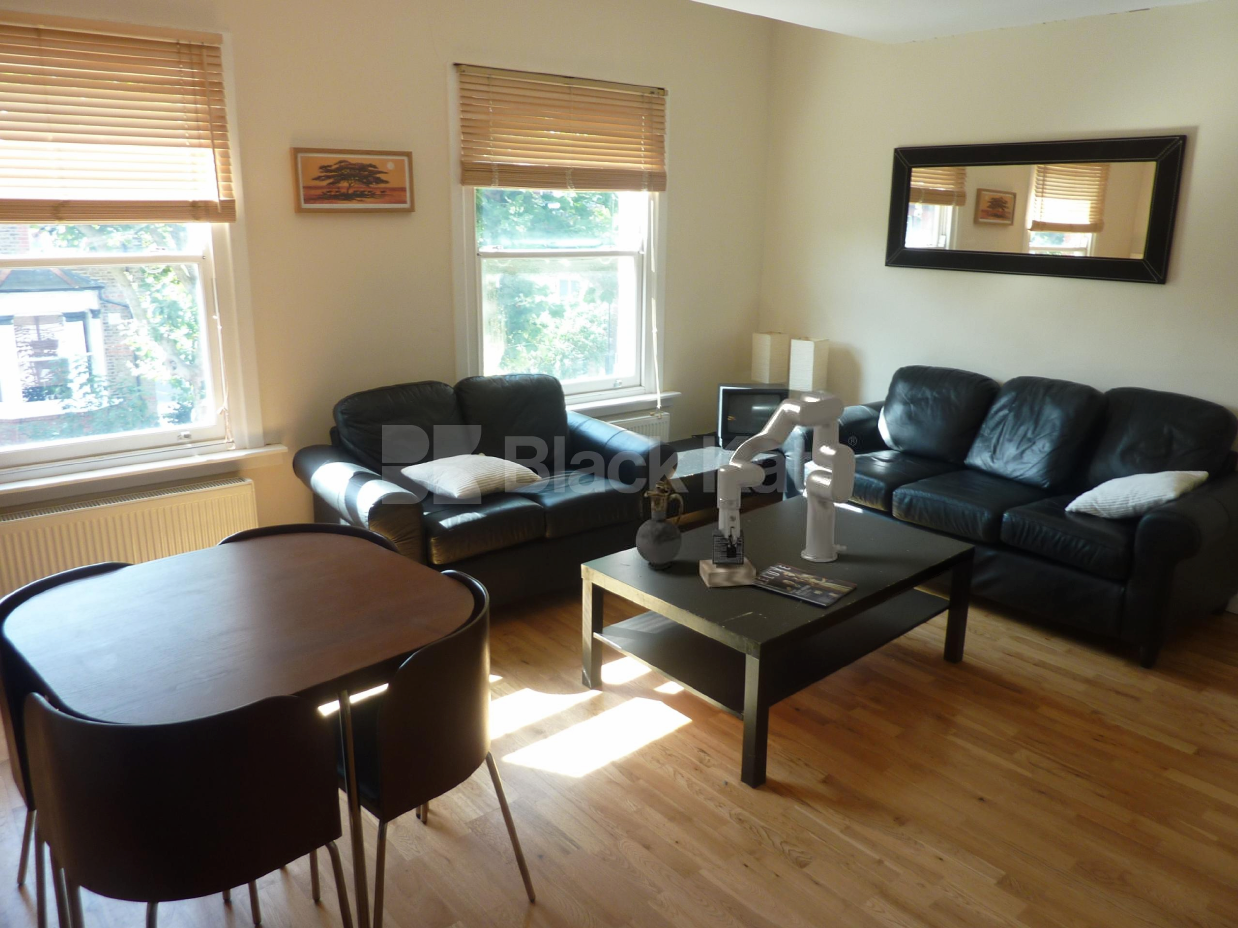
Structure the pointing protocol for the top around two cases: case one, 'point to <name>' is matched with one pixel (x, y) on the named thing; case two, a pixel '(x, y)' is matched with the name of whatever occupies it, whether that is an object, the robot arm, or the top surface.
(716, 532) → the small box
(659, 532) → the pitcher
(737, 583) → the birch riser
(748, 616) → the top surface
